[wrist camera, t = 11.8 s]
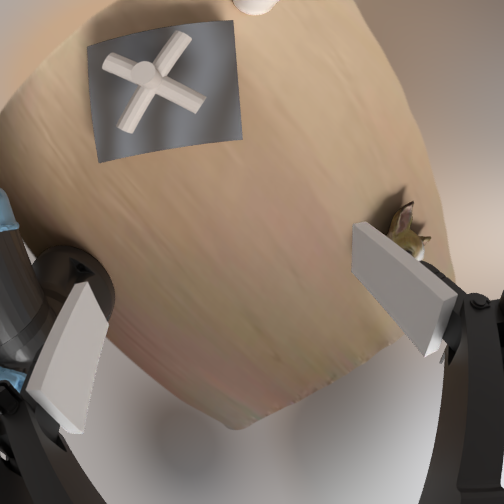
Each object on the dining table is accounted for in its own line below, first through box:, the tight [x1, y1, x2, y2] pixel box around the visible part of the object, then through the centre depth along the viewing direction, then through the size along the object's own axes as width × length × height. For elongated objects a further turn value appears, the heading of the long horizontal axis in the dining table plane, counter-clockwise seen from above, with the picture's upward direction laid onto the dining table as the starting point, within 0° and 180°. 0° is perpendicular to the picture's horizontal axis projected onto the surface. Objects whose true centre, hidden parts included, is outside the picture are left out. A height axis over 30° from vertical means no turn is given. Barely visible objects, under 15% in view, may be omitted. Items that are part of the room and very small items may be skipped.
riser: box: [87, 20, 243, 163], centre depth 27 cm, size 16×14×5 cm
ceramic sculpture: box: [387, 201, 431, 261], centre depth 42 cm, size 11×9×15 cm
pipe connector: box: [102, 31, 206, 134], centre depth 20 cm, size 10×10×10 cm
